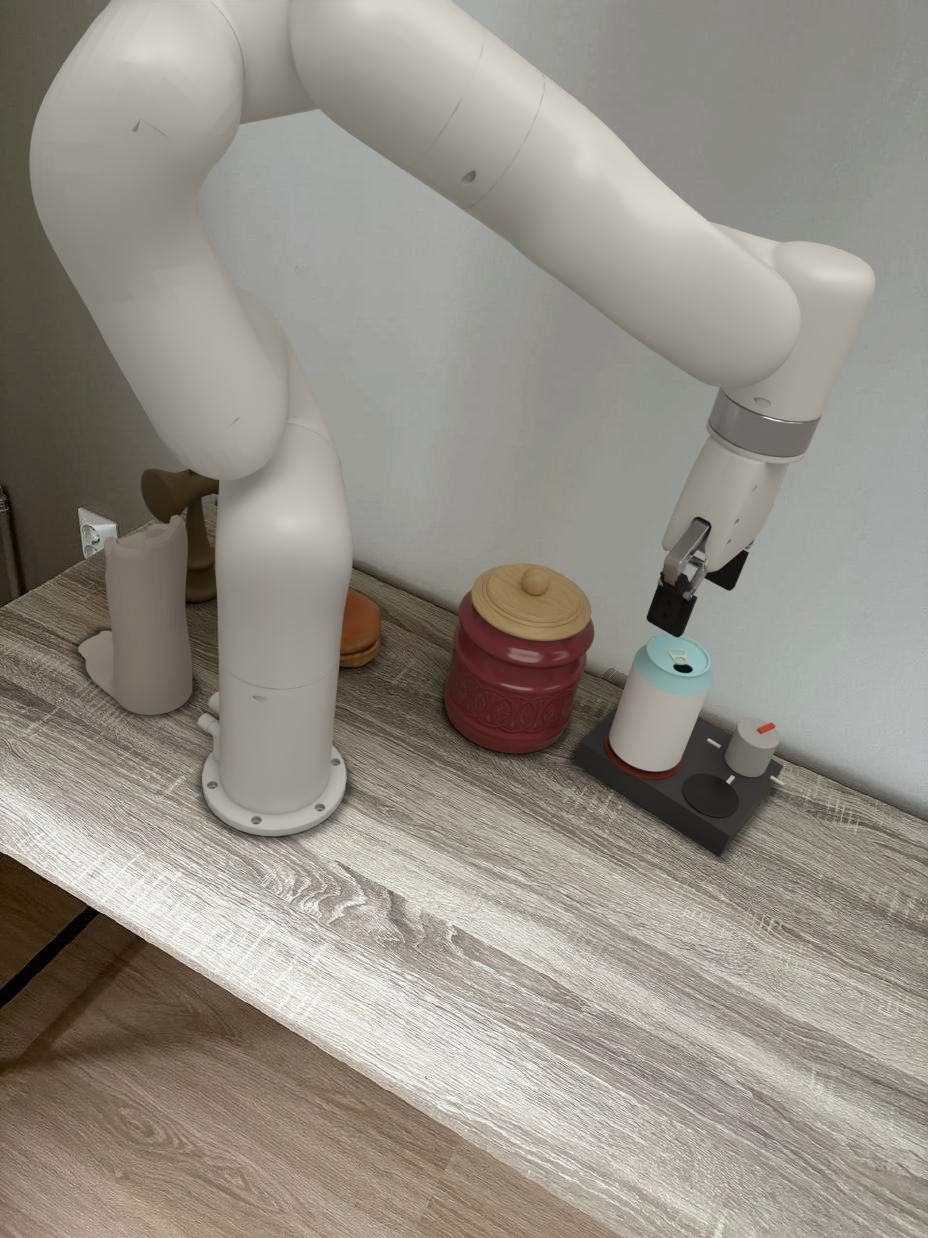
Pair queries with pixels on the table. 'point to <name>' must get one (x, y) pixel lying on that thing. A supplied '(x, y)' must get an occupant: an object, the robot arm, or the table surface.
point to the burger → (359, 630)
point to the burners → (688, 786)
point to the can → (661, 702)
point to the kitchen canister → (518, 657)
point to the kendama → (171, 498)
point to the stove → (667, 793)
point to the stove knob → (752, 747)
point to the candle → (145, 622)
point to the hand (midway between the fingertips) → (691, 604)
